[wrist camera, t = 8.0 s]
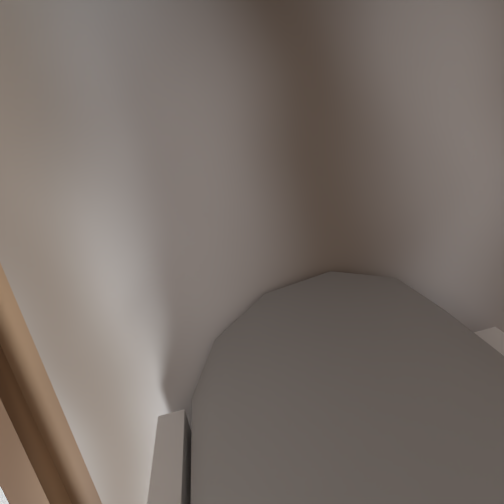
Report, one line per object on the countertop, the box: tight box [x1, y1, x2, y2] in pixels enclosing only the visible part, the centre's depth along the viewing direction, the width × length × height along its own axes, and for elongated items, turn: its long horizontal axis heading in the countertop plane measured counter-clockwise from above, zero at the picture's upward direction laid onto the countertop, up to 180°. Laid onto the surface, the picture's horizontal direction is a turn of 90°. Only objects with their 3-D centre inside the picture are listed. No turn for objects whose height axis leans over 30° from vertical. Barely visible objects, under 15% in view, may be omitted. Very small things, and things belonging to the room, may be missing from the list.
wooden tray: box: [0, 0, 504, 504], centre depth 12 cm, size 19×20×6 cm
